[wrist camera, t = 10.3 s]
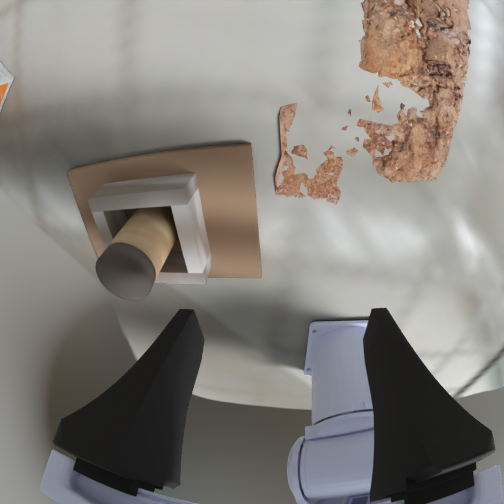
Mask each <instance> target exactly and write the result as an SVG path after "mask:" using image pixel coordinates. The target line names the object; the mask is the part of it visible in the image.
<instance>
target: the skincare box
mask: <svg viewBox="0 0 504 504" xmlns="http://www.w3.org/2000/svg"><path fill="white" fill-rule="evenodd" d="M13 79H14V76H13V75H12V74H11V73H10V72H9V71H8V70H7V69H6V68H5V67H4V65H3V64H2V63H1V62H0V112H1V109H2V106H3V104H4V101H5V98H6V96H7V93H8V91H9V89H10V86H11V84H12V82H13Z"/></svg>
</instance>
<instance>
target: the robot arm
mask: <svg viewBox="0 0 504 504" xmlns="http://www.w3.org/2000/svg"><path fill="white" fill-rule="evenodd" d="M203 346H204V337H203V334H202V331H201V329H200V326H199V323H198V320H197V317H196V315H195V312H194V310H191V309H180V310H179V311H178V312H177V313H176V315H175V316H174V317H173V318H172V320H171V321H170V322H169V324H168V325H167V326H166V328H165V329H164V330H163V331H162V333H161V334H160V335H159V336H158V338H157V339H156V340H155V341H154V343H153V344H152V345H151V346H150V347H149V349H148V350H147V351H146V352H145V353H144V354H143V355H142V357H141V358H140V359H139V360H138V361H137V362H136V363H135V364H134V365H133V366H132V368H131V369H130V370H128V372H126V373H125V374H124V375H123V376H122V377H121V378H120V379H119V380H118V381H117V382H116V383H115V384H114V385H112V386H111V387H110V388H109V389H108V390H106V391H105V392H104V393H102V394H101V395H100V396H99V397H97V398H96V399H94V400H93V401H91V402H90V403H89V404H87V405H86V406H84V407H82V408H81V409H79V410H77V411H76V412H74V413H72V414H70V415H69V416H67V417H65V418H63V419H61V422H60V424H59V427H58V429H57V432H56V435H55V437H54V440H53V443H54V444H55V445H56V446H58V447H60V448H61V449H63V450H65V451H67V452H68V453H70V454H72V455H74V456H76V457H77V459H76V461H74V460H72V459H70V458H68V457H66V456H64V455H62V454H61V453H59V452H57V451H55V450H52V452H51V455H50V458H49V461H48V464H47V467H46V471H45V473H44V476H43V480H42V483H41V486H40V490H41V491H42V492H43V493H45V494H46V495H47V496H49V497H50V498H52V499H53V500H55V501H56V502H58V503H59V504H198V503H193V502H188V501H184V500H180V499H176V498H172V497H168V496H164V495H160V494H157V493H154V490H155V488H157V489H160V490H162V489H163V486H166V487H170V488H176V487H177V486H179V485H180V470H181V469H180V468H181V454H182V444H183V436H184V435H183V434H184V428H185V422H186V415H187V410H188V406H189V401H190V398H191V395H192V391H193V388H194V384H195V381H196V377H197V374H198V370H199V367H200V363H201V359H202V353H203ZM304 374H305V375H307V376H312V426H307V427H305V436H302V437H300V438H299V439H298V440H297V441H296V443H295V444H294V445H293V447H292V449H291V451H290V454H289V458H288V466H287V473H288V474H287V475H288V482H289V486H290V489H291V491H292V493H293V494H294V496H295V499H296V502H297V504H503V494H502V480H501V471H500V465H499V464H498V465H496V466H494V467H492V468H490V469H487V470H486V471H483V472H481V473H479V474H477V475H474V476H473V471H474V470H476V462H477V461H480V460H481V459H483V458H485V457H487V456H489V455H490V454H492V453H494V451H495V445H494V439H493V434H492V431H491V430H490V429H488V428H487V427H486V426H484V425H483V424H481V423H480V422H479V421H478V420H476V419H475V418H474V417H473V416H471V415H470V414H469V413H468V412H467V411H466V410H465V409H464V408H463V407H462V406H461V405H459V403H457V402H456V401H455V400H454V399H453V398H452V397H451V396H450V395H449V394H448V392H447V391H446V390H445V389H444V388H443V387H442V386H441V385H440V384H439V382H438V381H437V380H436V379H435V378H434V376H433V375H432V374H431V373H430V371H429V370H428V369H427V368H426V366H425V365H424V363H423V362H422V361H421V359H420V358H419V357H418V355H417V354H416V352H415V351H414V350H413V348H412V347H411V345H410V344H409V342H408V341H407V339H406V338H405V336H404V335H403V333H402V332H401V330H400V329H399V327H398V325H397V324H396V322H395V321H394V319H393V317H392V316H391V314H390V313H389V311H388V310H387V309H386V308H375V309H372V310H371V314H370V317H369V320H357V321H321V322H312V323H311V324H310V326H309V335H308V343H307V352H306V360H305V367H304Z"/></svg>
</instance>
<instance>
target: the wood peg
mask: <svg viewBox="0 0 504 504" xmlns="http://www.w3.org/2000/svg"><path fill="white" fill-rule="evenodd" d="M177 238H178V233H177V229H176V225H175V221H174V217H173V213H172V208H171V206H161V207H147V208H138V210H137V211H136V212H135V213H134V214H133V215H132V217H131V218H130V219H129V220H128V221H127V223H126V224H125V225H124V226H123V228H122V229H121V230H120V231H119V232H118V234H117V235H116V236H115V238H114V239H113V240H112V241H111V243H110V244H109V245H108V246H107V248H106V249H105V250H104V252H103V253H102V254H101V256H100V257H99V258H98V260H97V262H96V273H97V275H98V278H99V279H100V281H101V283H102V284H103V285H104V286H105V287H106V288H107V289H108V290H109V291H110V292H112V293H113V294H114V295H116V296H118V297H120V298H122V299H125V300H130V301H139V300H142V299H144V298H146V297H147V296H148V294H149V292H150V290H151V288H152V286H153V284H154V282H155V280H156V278H157V276H158V274H159V272H160V270H161V268H162V266H163V264H164V262H165V260H166V258H167V257H168V255H169V253H170V251H171V249H172V247H173V245H174V243H175V241H176V240H177Z"/></svg>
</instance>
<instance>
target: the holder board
mask: <svg viewBox="0 0 504 504" xmlns="http://www.w3.org/2000/svg"><path fill="white" fill-rule="evenodd" d="M67 175H68V178H69V182H70V185H71V188H72V191H73V194H74V197H75V200H76V202H77V205H78V208H79V211H80V213H81V216H82V219H83V221H84V224H85V227H86V229H87V232H88V234H89V237H90V239H91V241H92V244H93V246H94V249H95V251H96V253H97V256H98V258H99V257H100V256H101V254H102V253H103V252H104V250H105V249H106V248H107V246H108V245H109V244H110V243H111V241H112V240H113V239H114V238H115V236H116V235H117V234H118V232H119V231H120V230H121V229H122V228H123V226H124V225H125V224H126V223H127V221H128V220H129V219H130V218H131V217H132V215H133V214H134V213H135V212H136V211H137V210H138V208H147V207H161V206H171V208H172V213H173V217H174V221H175V225H176V229H177V233H178V238H177V240H176V241H175V243H174V245H173V247H172V249H171V251H170V253H169V255H168V257H167V258H166V260H165V262H164V264H163V266H162V268H161V270H160V272H159V274H158V276H157V278H156V280H155V282H154V283H173V284H206V281H207V278H261V275H262V270H261V257H260V244H259V232H258V219H257V207H256V195H255V183H254V171H253V159H252V148H251V143H244V144H229V145H216V146H205V147H196V148H187V149H178V150H170V151H163V152H156V153H149V154H143V155H137V156H131V157H125V158H120V159H115V160H110V161H105V162H100V163H95V164H90V165H86V166H82V167H77V168H73V169H70V170H69V171H67Z"/></svg>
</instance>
